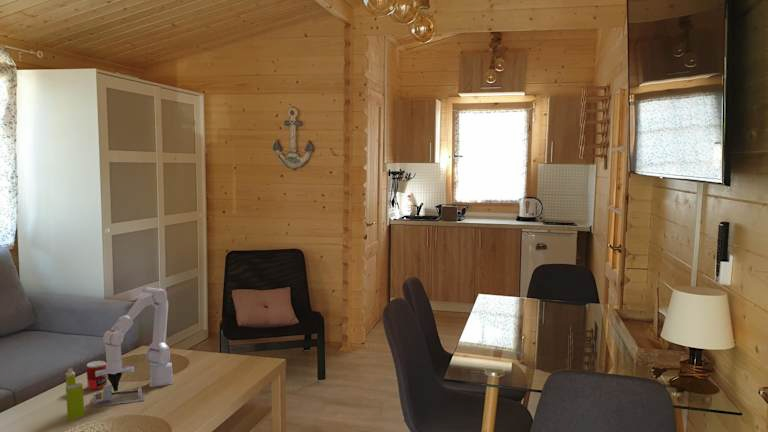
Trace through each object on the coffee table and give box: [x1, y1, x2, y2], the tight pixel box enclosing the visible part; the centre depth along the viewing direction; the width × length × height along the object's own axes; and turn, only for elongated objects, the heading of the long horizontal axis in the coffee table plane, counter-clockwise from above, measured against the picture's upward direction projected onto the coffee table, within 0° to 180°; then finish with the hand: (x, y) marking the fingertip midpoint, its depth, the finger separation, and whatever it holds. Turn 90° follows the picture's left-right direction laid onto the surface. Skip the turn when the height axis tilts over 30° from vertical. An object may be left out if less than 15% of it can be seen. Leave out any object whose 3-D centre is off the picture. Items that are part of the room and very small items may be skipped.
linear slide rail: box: [88, 387, 146, 409], centre depth 243 cm, size 21×10×4 cm, turn 109°
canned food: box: [86, 360, 108, 391], centre depth 257 cm, size 8×8×11 cm
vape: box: [65, 367, 85, 421], centre depth 226 cm, size 4×6×20 cm, turn 139°
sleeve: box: [102, 384, 113, 400], centre depth 242 cm, size 3×3×5 cm
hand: (115, 390), depth 243 cm, fingers closed
